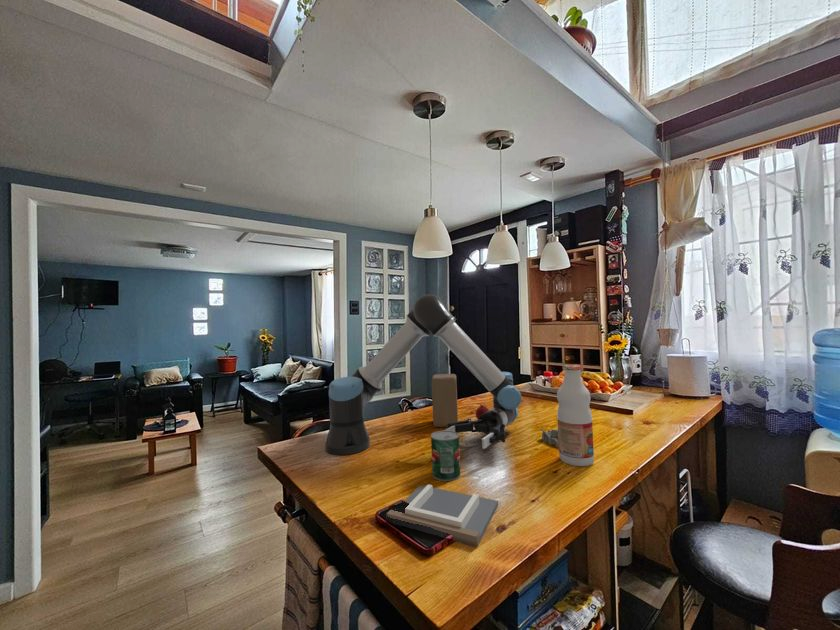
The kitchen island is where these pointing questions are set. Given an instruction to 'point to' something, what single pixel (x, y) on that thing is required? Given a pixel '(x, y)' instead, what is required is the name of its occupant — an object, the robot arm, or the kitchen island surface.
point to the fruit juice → (574, 419)
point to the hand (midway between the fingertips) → (462, 439)
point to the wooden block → (444, 399)
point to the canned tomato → (445, 455)
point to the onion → (481, 411)
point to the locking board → (449, 513)
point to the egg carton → (548, 436)
